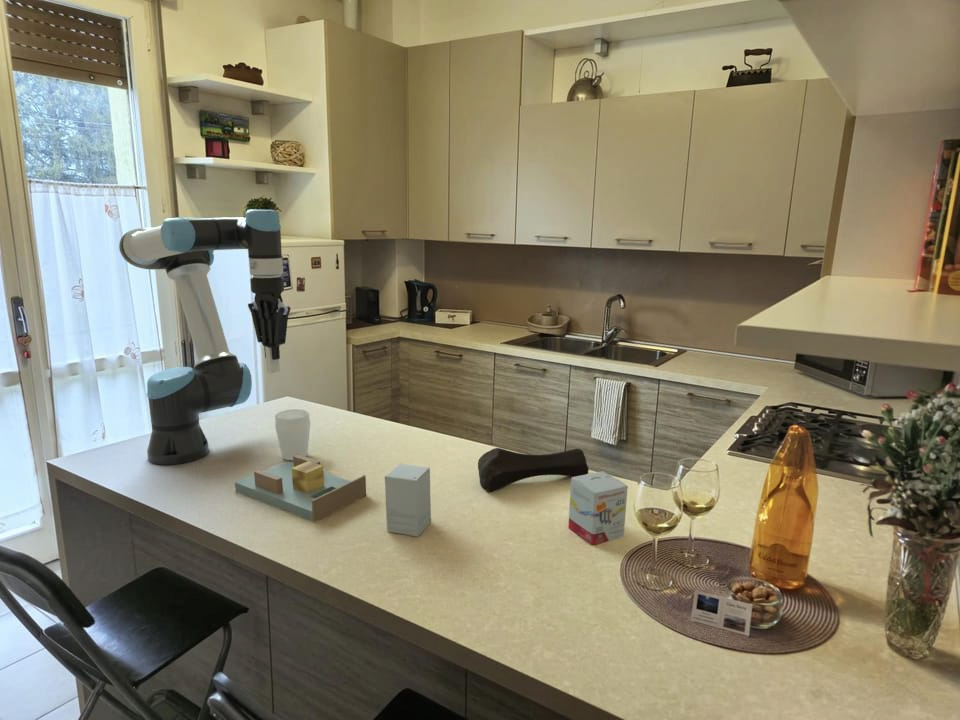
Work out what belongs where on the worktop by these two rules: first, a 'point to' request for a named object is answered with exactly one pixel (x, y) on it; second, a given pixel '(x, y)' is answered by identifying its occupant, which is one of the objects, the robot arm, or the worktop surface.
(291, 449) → the cup
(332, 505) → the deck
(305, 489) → the ochre block
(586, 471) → the dark brown bone
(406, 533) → the supplement box
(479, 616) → the worktop surface
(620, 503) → the ink box
